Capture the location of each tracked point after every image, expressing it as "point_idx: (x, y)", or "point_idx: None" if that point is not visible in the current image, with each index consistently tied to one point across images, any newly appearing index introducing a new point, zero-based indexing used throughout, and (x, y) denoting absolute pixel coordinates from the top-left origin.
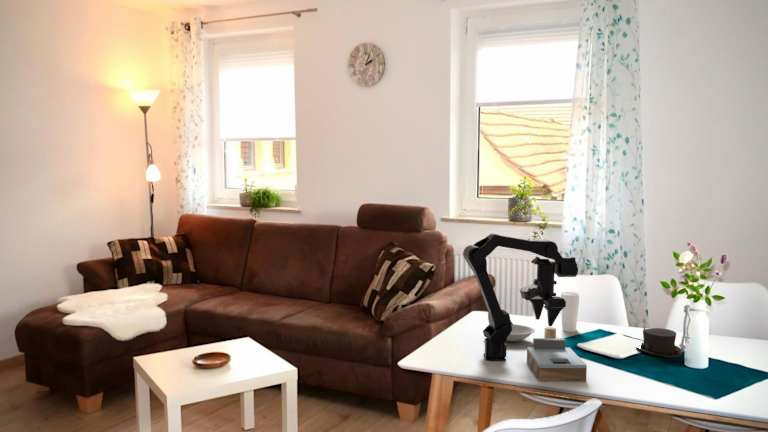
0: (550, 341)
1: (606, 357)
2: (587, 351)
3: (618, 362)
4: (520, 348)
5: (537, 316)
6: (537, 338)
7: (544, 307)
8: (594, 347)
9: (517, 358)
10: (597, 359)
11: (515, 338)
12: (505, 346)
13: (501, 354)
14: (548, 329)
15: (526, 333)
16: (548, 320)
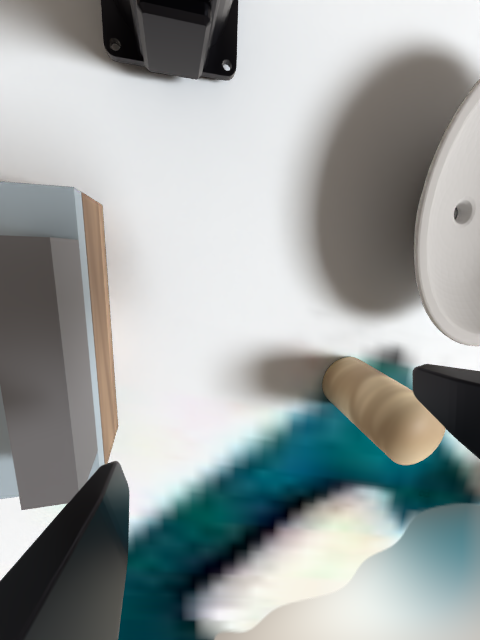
0: (7, 386)
1: (202, 569)
2: (282, 513)
3: (135, 604)
4: (351, 240)
5: (442, 392)
6: (55, 281)
7: None
8: (328, 539)
9: (182, 170)
10: (174, 538)
11: (416, 217)
12: (137, 6)
13: (124, 8)
14: (398, 420)
15: (423, 282)
16: (62, 527)
